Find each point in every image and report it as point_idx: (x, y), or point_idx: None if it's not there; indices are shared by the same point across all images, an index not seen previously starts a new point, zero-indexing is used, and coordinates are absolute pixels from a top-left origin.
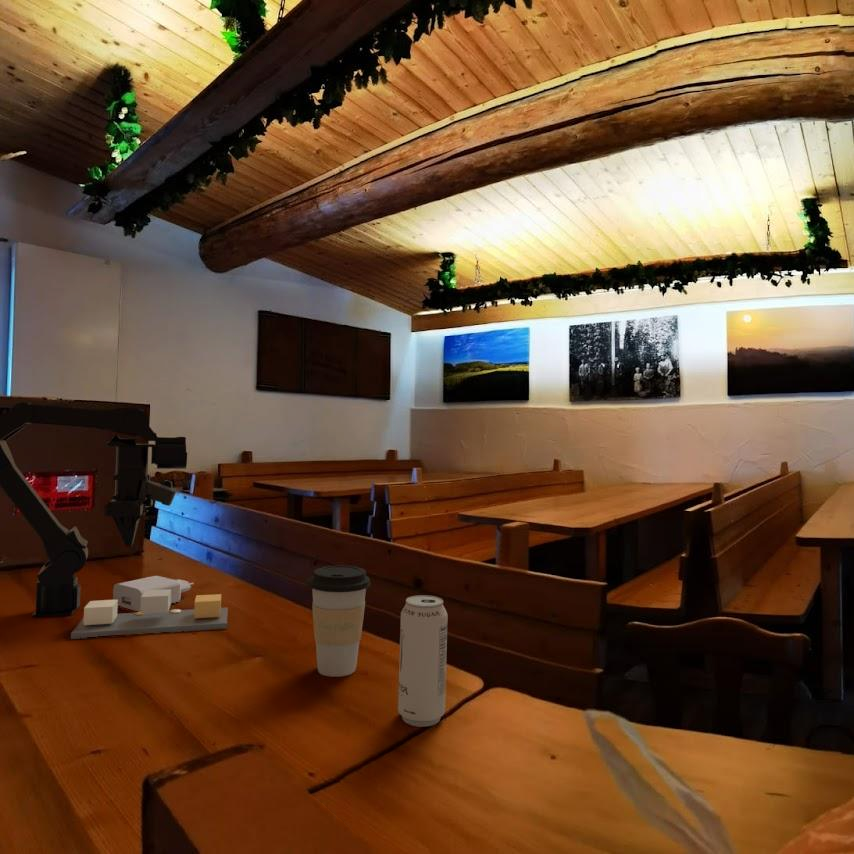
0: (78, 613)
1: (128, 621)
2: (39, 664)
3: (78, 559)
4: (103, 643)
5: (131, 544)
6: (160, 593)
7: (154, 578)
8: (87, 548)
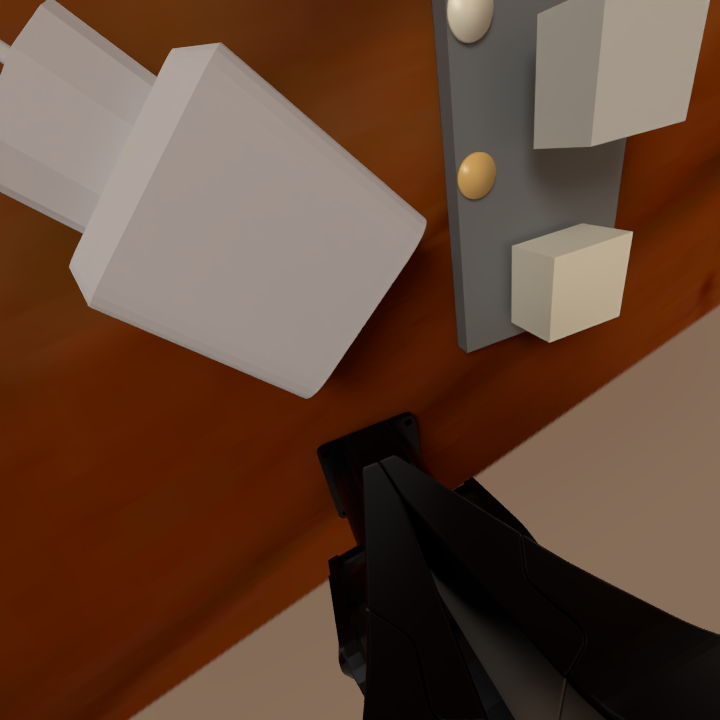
0: (384, 405)
1: (548, 186)
2: (707, 273)
3: (529, 534)
4: (644, 196)
5: (402, 462)
6: (663, 31)
7: (183, 257)
8: (365, 638)
